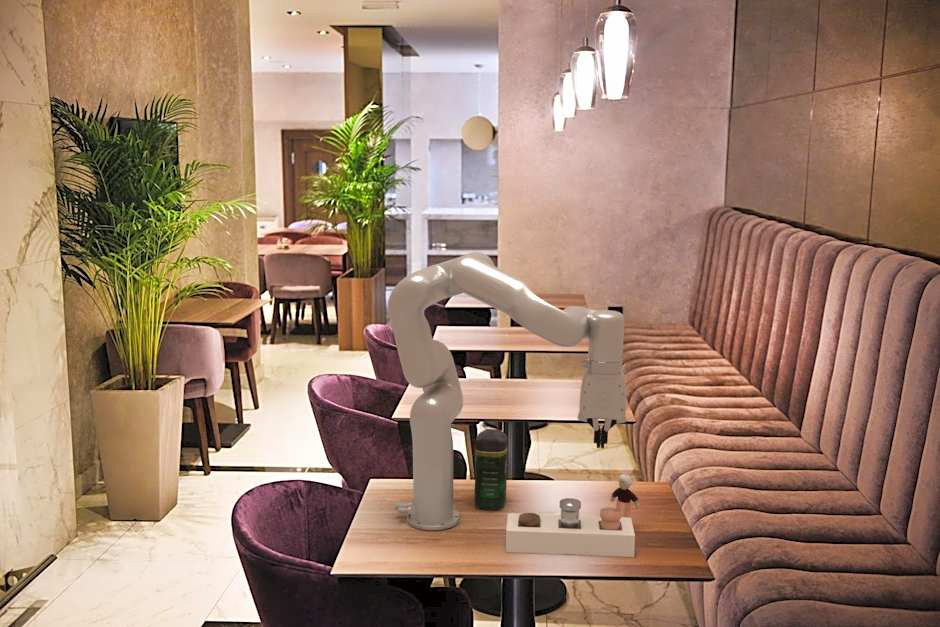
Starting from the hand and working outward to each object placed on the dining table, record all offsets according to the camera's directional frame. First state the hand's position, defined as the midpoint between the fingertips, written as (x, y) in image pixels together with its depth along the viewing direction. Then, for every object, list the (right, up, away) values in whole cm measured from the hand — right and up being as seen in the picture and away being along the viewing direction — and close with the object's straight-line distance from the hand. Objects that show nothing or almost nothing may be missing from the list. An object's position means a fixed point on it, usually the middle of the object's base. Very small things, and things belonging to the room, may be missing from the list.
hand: (600, 446), depth 215 cm
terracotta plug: (+2, -20, 0) cm, 20 cm away
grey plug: (-7, -18, 0) cm, 19 cm away
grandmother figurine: (+7, -21, +12) cm, 25 cm away
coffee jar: (-24, -18, +25) cm, 39 cm away
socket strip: (-7, -22, +1) cm, 23 cm away
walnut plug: (-16, -22, +2) cm, 27 cm away
